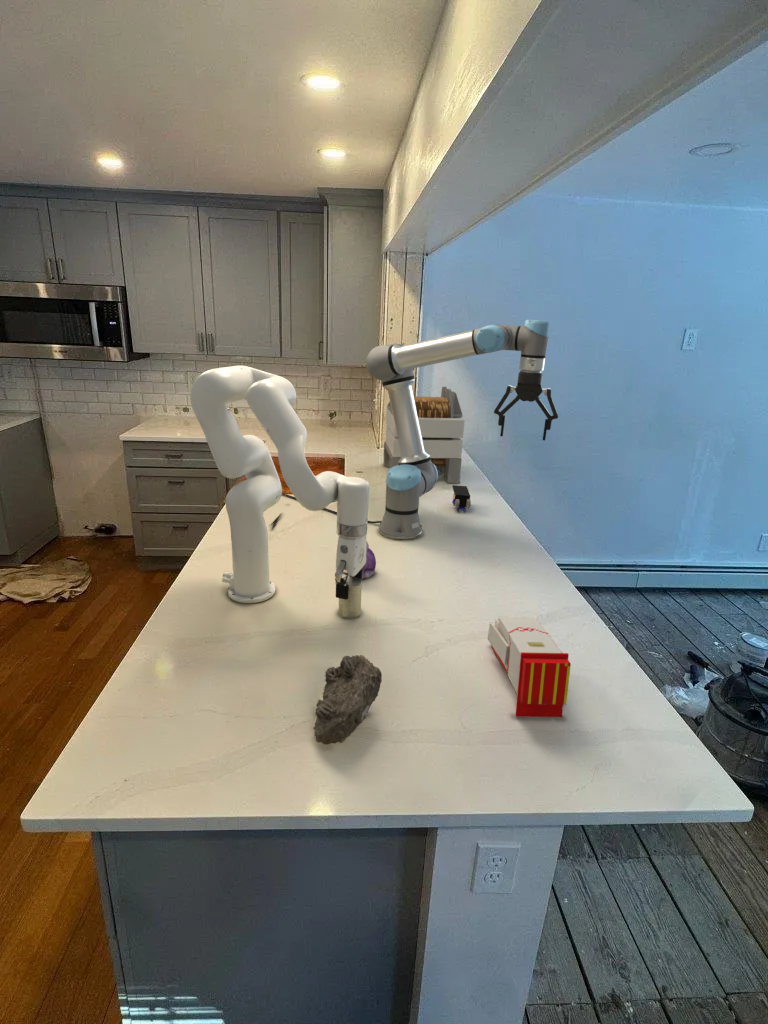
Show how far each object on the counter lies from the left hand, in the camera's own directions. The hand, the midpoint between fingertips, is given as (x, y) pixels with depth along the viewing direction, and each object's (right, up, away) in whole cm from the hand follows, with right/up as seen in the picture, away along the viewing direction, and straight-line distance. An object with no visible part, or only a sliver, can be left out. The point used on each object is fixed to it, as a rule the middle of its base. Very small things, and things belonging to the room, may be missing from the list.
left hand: (349, 589), depth 145 cm
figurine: (+2, +1, +24) cm, 24 cm away
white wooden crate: (+26, +39, +130) cm, 138 cm away
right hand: (+55, +44, +41) cm, 81 cm away
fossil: (+2, -19, -34) cm, 39 cm away
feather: (-30, +18, +66) cm, 74 cm away
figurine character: (+40, +22, +84) cm, 96 cm away
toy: (+39, -16, -20) cm, 47 cm away
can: (0, -6, +2) cm, 7 cm away
